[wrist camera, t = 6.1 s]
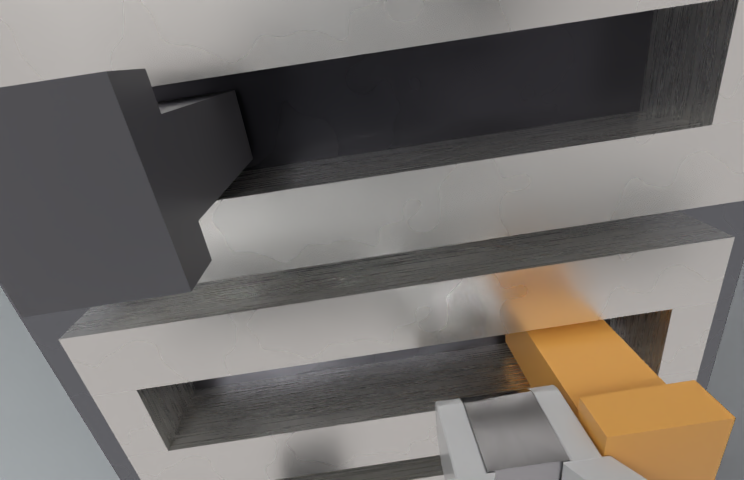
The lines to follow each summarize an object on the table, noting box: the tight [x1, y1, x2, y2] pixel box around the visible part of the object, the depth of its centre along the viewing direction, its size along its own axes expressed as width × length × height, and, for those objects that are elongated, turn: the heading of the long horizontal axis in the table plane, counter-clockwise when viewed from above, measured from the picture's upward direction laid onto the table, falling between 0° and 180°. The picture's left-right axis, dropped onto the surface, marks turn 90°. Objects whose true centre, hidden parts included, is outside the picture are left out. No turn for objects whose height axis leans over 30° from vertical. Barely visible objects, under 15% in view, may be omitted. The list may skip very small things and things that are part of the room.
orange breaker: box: [505, 320, 736, 480], centre depth 9 cm, size 2×2×5 cm
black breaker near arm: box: [0, 68, 253, 317], centre depth 6 cm, size 2×2×5 cm
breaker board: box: [0, 0, 744, 480], centre depth 11 cm, size 19×18×4 cm
